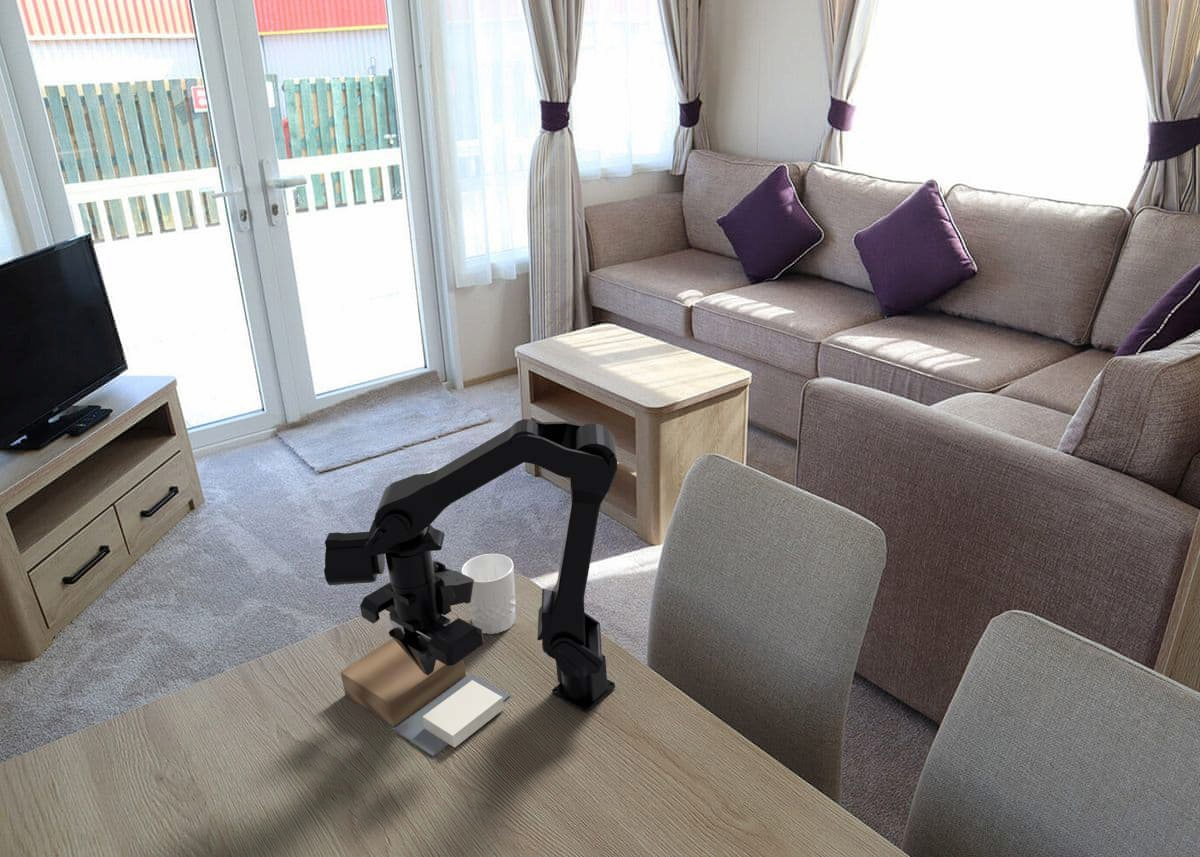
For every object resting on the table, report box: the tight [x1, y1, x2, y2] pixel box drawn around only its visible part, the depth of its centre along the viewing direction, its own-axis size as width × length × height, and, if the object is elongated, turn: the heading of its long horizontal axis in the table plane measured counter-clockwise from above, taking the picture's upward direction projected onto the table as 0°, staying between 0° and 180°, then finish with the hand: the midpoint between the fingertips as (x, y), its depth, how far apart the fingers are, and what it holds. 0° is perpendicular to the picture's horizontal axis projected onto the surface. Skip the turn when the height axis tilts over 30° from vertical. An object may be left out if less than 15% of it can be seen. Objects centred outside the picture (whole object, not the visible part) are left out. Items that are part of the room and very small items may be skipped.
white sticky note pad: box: [422, 680, 505, 748], centre depth 124 cm, size 6×9×2 cm, turn 140°
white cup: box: [460, 553, 517, 635], centre depth 142 cm, size 8×8×10 cm
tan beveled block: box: [340, 638, 467, 728], centre depth 131 cm, size 11×13×4 cm
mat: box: [393, 672, 511, 757], centre depth 126 cm, size 8×14×1 cm, turn 140°
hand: (428, 672), depth 126 cm, fingers closed
